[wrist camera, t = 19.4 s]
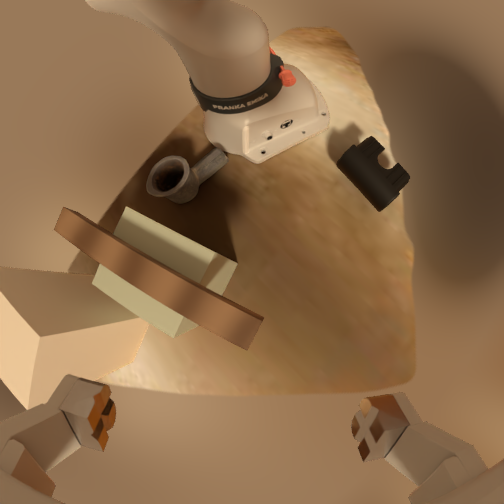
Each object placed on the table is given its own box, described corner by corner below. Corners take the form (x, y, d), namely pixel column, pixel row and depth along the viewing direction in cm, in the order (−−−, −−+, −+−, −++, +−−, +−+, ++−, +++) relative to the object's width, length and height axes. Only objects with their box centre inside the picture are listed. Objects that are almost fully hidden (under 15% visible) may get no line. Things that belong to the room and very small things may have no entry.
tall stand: (153, 314, 45) (40, 337, 19) (133, 361, 44) (27, 410, 18) (95, 275, 47) (-19, 264, 21) (78, 320, 46) (-30, 333, 20)
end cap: (332, 172, 45) (339, 155, 38) (359, 149, 45) (369, 130, 38) (373, 217, 43) (387, 206, 37) (398, 191, 43) (415, 178, 37)
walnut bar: (264, 317, 27) (262, 321, 24) (250, 343, 27) (247, 350, 24) (78, 212, 31) (63, 206, 28) (68, 233, 31) (53, 229, 28)
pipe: (236, 170, 46) (228, 149, 38) (176, 219, 46) (157, 207, 38) (215, 147, 47) (203, 124, 39) (158, 193, 47) (137, 178, 39)
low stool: (237, 263, 44) (215, 252, 29) (209, 320, 44) (173, 338, 28) (174, 230, 46) (126, 206, 30) (148, 284, 45) (91, 283, 30)
